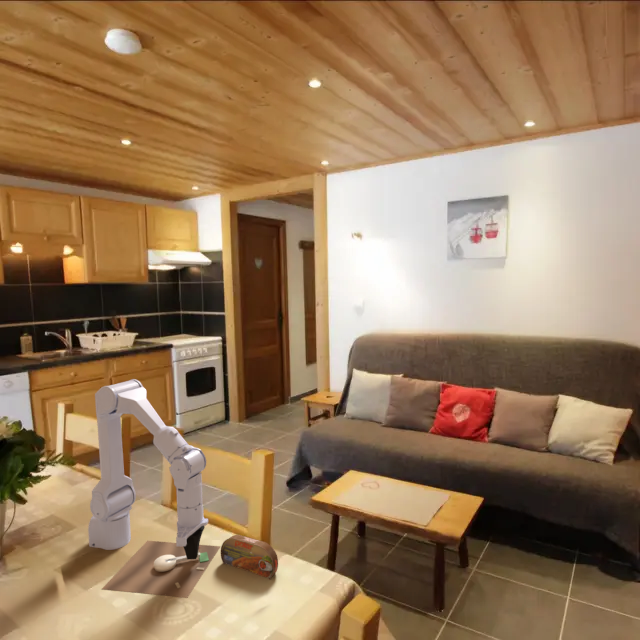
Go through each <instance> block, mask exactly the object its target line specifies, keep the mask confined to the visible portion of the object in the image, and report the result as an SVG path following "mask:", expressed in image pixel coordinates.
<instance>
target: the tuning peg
mask: <svg viewBox="0 0 640 640" xmlns="http://www.w3.org/2000/svg"><path fill="white" fill-rule="evenodd" d="M199 557H200V553H199V549H198V555H197V558H199ZM185 560H189V559H187V557H186V555H185V556H181V557H175V556H174V555H163V556H160V557H159V558H157V559H156V560H155V561H154V569H155V570H156V571H159V572H164V571H168V570H171V569H172V568H174V567H175V566H176V562H180V561H185Z"/></svg>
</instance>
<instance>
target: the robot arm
mask: <svg viewBox="0 0 640 640" xmlns="http://www.w3.org/2000/svg"><path fill="white" fill-rule="evenodd" d="M147 394H148V393H147V389H146V388H145V387H144V386H143V383H142V382H141V381H140V380H138V379H135V378H132V379H130V380H126V381H122V382H118V383H116V384H111V385H104V386H102V387H100V388H99V389H98V390H97V391H96V392H95V393H94V401H95V414H96V423H97V424H96V425H97V436H98V437H97V438H98V451H99V465H100V479H99V481H98V482H97V483H96V484H95V486H94V487H93V488H92V490H91V500H90V504H89V507H90V509H89V510H90V512H91V514H92V516H91V518H90V519H89V522H88V526H87V527H88V529H87V530H88V531H87V532H88V544H89V548H99V549H103V550H107V551H111V550H118V549H120V548H122V547H125V546H126V545H128V544H129V543H130V542H131V538H132V536H131V534H132V533H131V517H130V511H131V510H132V509H133V507H132V505H134V503H135V502H136V499H137V494H136V493H137V492H136V490H135V488H134V483H133V479H132V478H130V477H129V476H127V475H125V469H124V468H125V467H124V453H123V450H124V449H123V438H122V436H123V435H122V423H121V422H122V421H121V416H123V415H125V414H127V415H133V416H134V417H135V418H136V419H137V420H138V421H139V422H140V423H141V425H142V426H144V427H145V428H146V429H147V430H148V432H149V433H150V434H151V435H153V441H152V442H153V443H152V444H153V445H154V446H155V447H156V448H157V451H159V452H160V453H161V455H162V456H163V457H164V459H165V460H166V461H167V463H169V464H170V466H169V467H168V468H169V473H170V475H171V477H172V479H173V485H174V487H175V489H176V509H177V512H176V513H177V520H176V521H177V522H176V529H177V530H176V531H177V533H176V538H175V541H176V542H175V543H176V546H183V547H184V550H185V553H186V557H187V559H196V558H197V555H198V549H199V545H200V542H201V539H202V535H203V532H204V530H205V527H206V526H207V525H208V523H209V518H205V517H204V505H203V477H202V471H204V470H205V469H206V466H207V459H206V458H207V457H206V455H205V454H204V451H203V450H202V449H201V448H199V447H195V446H193V445H192V444H191V445H189V443H188V442H187V441H186V440H185V439H184V437H183V436H182V434H180V432H179V431H178V429H176V428H175V427H174V426H169V425H166V424H165V422H164V421H163V420H162V418H161V417H160V415H159V414H158V413H157V411H156V409H154V407H153V406H152V404H151V402H150V401H149V399H148V398H147Z"/></svg>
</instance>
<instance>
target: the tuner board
mask: <svg viewBox="0 0 640 640" xmlns="http://www.w3.org/2000/svg"><path fill="white" fill-rule="evenodd" d="M221 546H222V545H210V544H209V545H208V544H199V553H200V557H199V558H196V559H189V560H185V561H180V562H176V566H175V567H174V568H172V569H171V570H168V571H164V572H159V571H156V570H155V569H154V561H155V560H156V559H157V558H159V557H160V556H163V555H174V556H175V557H181V556H185V555H186V553H185V550H184V547H183V546H176V542H169V541H158V540H156V541H155V540H147V541H145V542H144V544H143V545H141V547H140V548H138V550H137V551H136V552H135V553H134V554H133V555H132V556H131V557H130V559H128V561H126V562H125V564H124V565H123V566H122V567H121V568H120V569H119V570H118V571H117V572H116V573H115V574H114V575H113V576H112V577H111V578H110V580H108V582H107V583H105V584H104V586H103V587H102V588H101V590H104V591H114V592H127V593H136V594H145V595H146V594H147V595H153V596H154V595H155V596H164V597H165V596H166V597H174V598H175V597H176V598H186V599H187V598H189V596H190V595H191V593H192V592H193V590H194V588H195V587H196V586H197V584H198V583H199V581H200V579H201V578H202V576H203V574H204V573H205V572H206V570H207V568H208V567H209V565H210V564H211V562H212V561H213V559H214V558H215V556H216V555H217V553H218V552H219V551H220V550H221Z"/></svg>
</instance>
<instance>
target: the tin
mask: <svg viewBox="0 0 640 640" xmlns="http://www.w3.org/2000/svg"><path fill="white" fill-rule="evenodd" d="M220 546H221V547H220V558H221V561H222V563H223V565H229V566H231V567H235V568H238V569H241V570H243V571H247V572H250V573H252V574H256V575H258V576H261V577H265V578H267V579H268V580H269V581H270V580H271V579H272V578H273V576H274V575H276V573H277V572H278V569H279V558H278V554H277V551H276V550H275V549H274V548H273V546H272V545H270V544H269V543H268V542H266V541H262V540H259V539H256V538H251V537H248V536H245V535H240V534H234V535H232V536H230V537H229V538H226V539H225V540H223V543H222V544H221V545H220Z"/></svg>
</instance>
